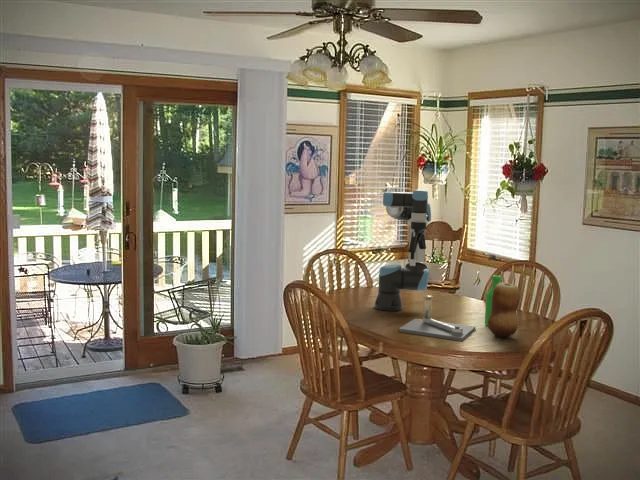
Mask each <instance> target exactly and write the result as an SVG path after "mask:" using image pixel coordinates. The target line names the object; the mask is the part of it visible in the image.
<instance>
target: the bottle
mask: <svg viewBox="0 0 640 480" xmlns="http://www.w3.org/2000/svg"><path fill="white" fill-rule="evenodd" d="M491 279H492V285H491V288H489V290H488V292H487V293H486V296H485V298H486V299H485V310H484V311H485V313H484V324H485V325H486V326H487V327H489V326H488V319H489V316H490V314H491V311H492V296H493V291H494V288H495V286H496V285H497V284H498V283H502V276H501V275H498V274H493V275H492V278H491Z"/></svg>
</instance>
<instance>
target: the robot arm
mask: <svg viewBox="0 0 640 480" xmlns="http://www.w3.org/2000/svg"><path fill="white" fill-rule="evenodd" d="M382 195H383V197H382V205H383V206H384V207H385V211H386V214H387V215H388V216H389V217H391V218H392V219H395V220H398V221H404V222H406V223H407V225H408V226H409V238H408V239H409V240H408V251H407V252H408V262H407V263H406V264H405V265H404V267H403V266H402V265H401V264H387V265H383V266H380V268H379V272H378V289H377V290H378V291H377V292H378V293H377V296H376V298H375V302H374V305H373V306H374V309H376V310H379V311H386V312H397V311H402V310H403V309H404V308H403V307H404V305H403V301H402V296H401V290H402V291H403V290H404V291H417V292H419V291H426V290H427V288H428V284H429V277H430V271H431V270H430V269H429V268H428V266H427V264H426V263H425V253H426V250H427V244H426V230H427V226H428V225H429V223H430V222H431V221H432V210H431V204H430V202H429V201H428V200H429V192H428V190H426V189H413V191H412V192H408V191H407V192H404V191H403V192H402V191H399V192H398V191H384V192H383V194H382Z"/></svg>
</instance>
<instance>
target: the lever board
mask: <svg viewBox="0 0 640 480" xmlns="http://www.w3.org/2000/svg"><path fill="white" fill-rule="evenodd" d="M442 322H443V323H446V324H448V325H451V326H454V327H455V326H460V328H462V329H463V334H453V333H451V331H448V330H445V329H442V328H439V327H437V326H434V325H431V324H428V323H426V322H423V318H414V319H412V320H411V321H409V322H407V323H406V324H404V325H401V327H398V332H399V333H406V334H411V335H412V334H413V335H418V336H425V337H432V338H440V339H445V340H452V341H458V342H463V341H464V340H465V339H467V338H468V337H469V336H471V334H473V332H474V331H476V326H475V325H474V326H473V325H466V324H460V323H459V324H458V323H452V322H445V321H442Z"/></svg>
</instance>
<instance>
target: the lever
mask: <svg viewBox="0 0 640 480" xmlns="http://www.w3.org/2000/svg"><path fill="white" fill-rule="evenodd" d="M423 298H424V302H423V303H424V304H423V317H422V319H423V322H426V323H428V324H431V325H434V326H437V327H439V328H442V329H445V330H448V331H451V333H453V334H463V329H462V328H460V326H455V327H454V326H451V325H448V324H446V323H447V322H446V323H443V322H444V321H439V320H437V319H433V318H432V310H433V308H432V305H433V304H432V303H433V299H434V296H433V295H431V294H428V295H427V294H424V295H423Z"/></svg>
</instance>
